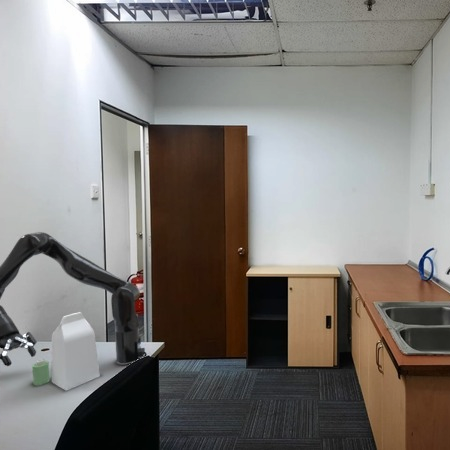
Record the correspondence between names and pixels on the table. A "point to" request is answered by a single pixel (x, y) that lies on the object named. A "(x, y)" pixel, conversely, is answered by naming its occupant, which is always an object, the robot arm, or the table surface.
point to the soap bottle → (41, 372)
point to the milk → (74, 352)
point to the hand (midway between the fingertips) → (22, 360)
